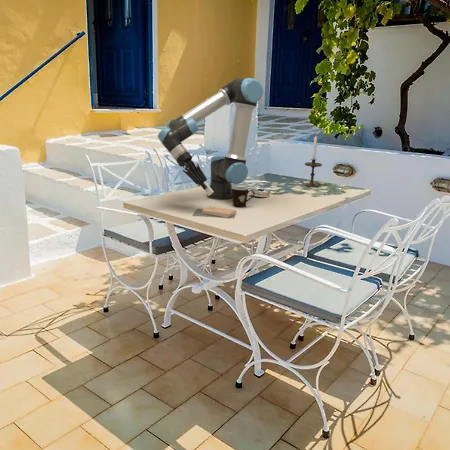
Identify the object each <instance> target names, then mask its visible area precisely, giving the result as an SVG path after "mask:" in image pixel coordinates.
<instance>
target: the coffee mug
mask: <svg viewBox="0 0 450 450" xmlns="http://www.w3.org/2000/svg"><path fill="white" fill-rule="evenodd" d="M250 192H252V193H253V194H252V196H250V197H249V198H248V195H249V193H250ZM254 196H255V190H252V189H249V187H247V186H232V198H231V199H232V207H234V208H238V209H241V208H246V207H247V202H248V201H250V200H251V199H252V198H254Z"/></svg>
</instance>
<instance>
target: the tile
mask: <svg viewBox="0 0 450 450" xmlns="http://www.w3.org/2000/svg"><path fill="white" fill-rule="evenodd" d="M202 209H203V210H202V214H205V215H212V216H218V217H224V218H223V219H230V218H229V217H231V216H233V215H235V216H236V214H237V212H236V211H237V210H236V209H232V208H226V207H225V208H224V207H220V206H218V207H217V206H212V205H211V206H208V207H205V208H202Z"/></svg>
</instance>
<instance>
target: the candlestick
mask: <svg viewBox="0 0 450 450" xmlns="http://www.w3.org/2000/svg"><path fill="white" fill-rule="evenodd" d="M317 143H318V138H317V131H315V136H314V138H313V147H312V158H311V159H310V160H311V162H305V163H304V166H305V167H306V166H307V167H310V168H311V173H310V175H309V176H310V181H309V182H306V183H304V186H305V187H307V186H308V187H307V188H319V187H318V186H320V185H319V183H314V179H315V175H316V174H315V169H316V168H317V167H318V168H319V167H323V164H322V163H320V162H316V161H317V157H316V155H317Z"/></svg>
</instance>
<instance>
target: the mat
mask: <svg viewBox="0 0 450 450" xmlns="http://www.w3.org/2000/svg"><path fill="white" fill-rule="evenodd" d="M203 209H204V208H196V209H195V211H194V212H193V214H192V215H191V217H203V218H219V219H225V218H224V217H218V216H212V215H205V214H202V210H203ZM236 213H237V210H236ZM235 218H236V214H235V215H233V216H231V217H229V218H228V219H235Z"/></svg>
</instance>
